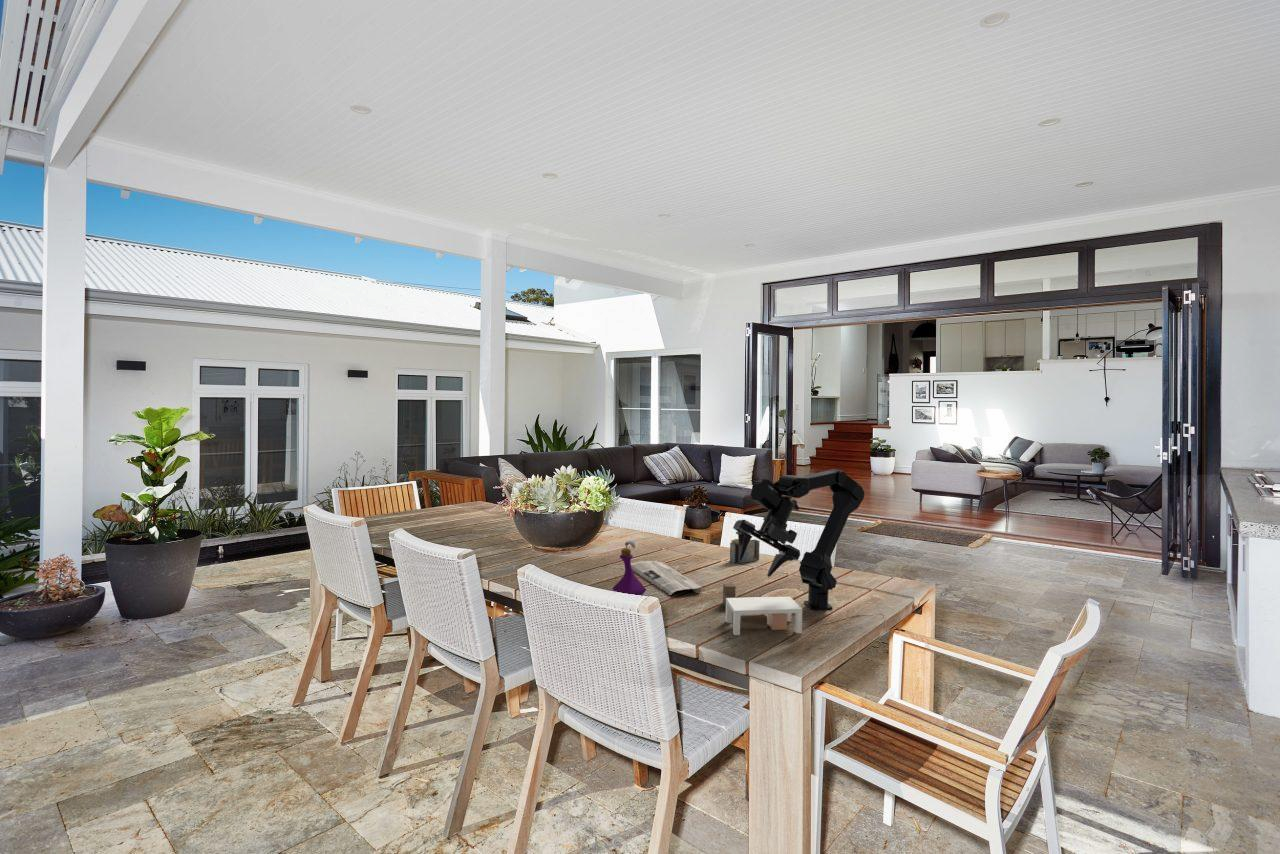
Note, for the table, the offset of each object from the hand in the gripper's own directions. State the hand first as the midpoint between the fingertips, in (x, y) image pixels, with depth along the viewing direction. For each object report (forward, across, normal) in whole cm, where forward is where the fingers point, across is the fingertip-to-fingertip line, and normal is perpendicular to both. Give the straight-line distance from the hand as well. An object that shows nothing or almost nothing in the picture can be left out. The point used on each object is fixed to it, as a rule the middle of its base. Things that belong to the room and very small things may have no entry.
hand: (753, 568), depth 175 cm
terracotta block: (+11, +13, 0) cm, 17 cm away
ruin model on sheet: (-9, +19, +62) cm, 66 cm away
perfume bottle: (+23, -21, +28) cm, 42 cm away
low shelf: (+13, +9, +1) cm, 16 cm away
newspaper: (+12, -9, +46) cm, 48 cm away
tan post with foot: (+12, +7, +10) cm, 17 cm away
